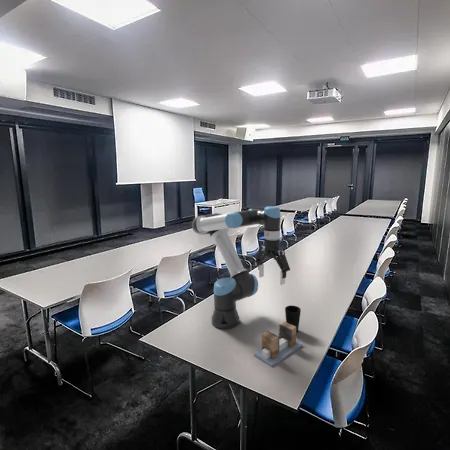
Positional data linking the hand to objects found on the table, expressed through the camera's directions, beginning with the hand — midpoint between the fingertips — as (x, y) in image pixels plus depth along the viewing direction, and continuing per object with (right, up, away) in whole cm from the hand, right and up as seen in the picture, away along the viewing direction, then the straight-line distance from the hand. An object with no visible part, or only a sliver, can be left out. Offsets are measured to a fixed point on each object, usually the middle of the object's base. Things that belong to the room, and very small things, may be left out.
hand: (271, 280), depth 145 cm
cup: (+11, -27, +3) cm, 29 cm away
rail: (+1, -29, -13) cm, 32 cm away
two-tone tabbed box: (-3, -29, -17) cm, 34 cm away
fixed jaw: (+6, -28, -9) cm, 30 cm away
